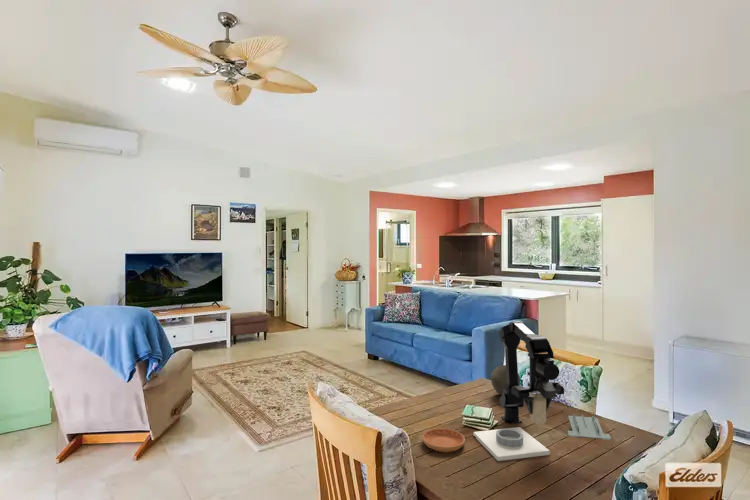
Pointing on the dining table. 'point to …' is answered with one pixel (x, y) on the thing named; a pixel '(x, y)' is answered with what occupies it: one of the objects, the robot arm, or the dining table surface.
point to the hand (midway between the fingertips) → (537, 413)
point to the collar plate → (511, 451)
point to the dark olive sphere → (500, 378)
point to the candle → (538, 409)
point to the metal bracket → (586, 428)
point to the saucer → (443, 440)
